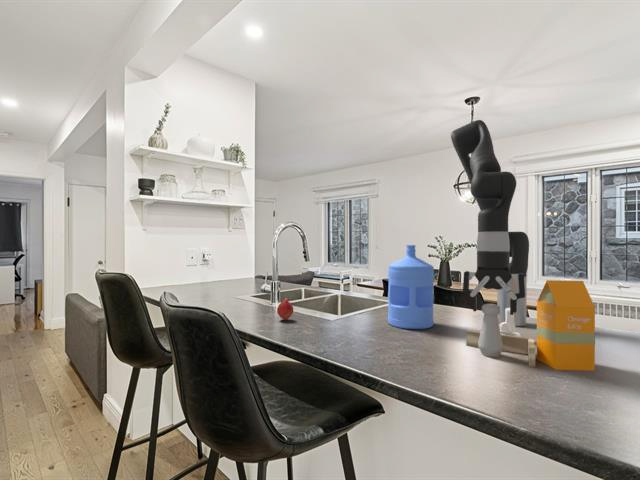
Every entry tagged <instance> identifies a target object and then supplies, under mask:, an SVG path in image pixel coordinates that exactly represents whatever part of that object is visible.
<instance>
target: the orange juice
mask: <svg viewBox="0 0 640 480" xmlns="http://www.w3.org/2000/svg"><path fill="white" fill-rule="evenodd" d="M595 325H596V306H595V304H594V301H593V300H592V297H591V295H590V293H589V292H588V289H587V287H586V285H585V283H584V281H583V280H552V279H551V280H546V281H545V284H544V286H543V288H542V290H541V293H540V294H539V296H538V299H537V300H536V360H538V361H540V363H541V362H542V363H543V364H545V365H546V366H548V367H550V368H552V369H554V370H557V371H559V370H561V371H564V370H565V371H596V370H595V369H596V367H595V366H596V365H595V364H596V363H595V362H596V360H595V359H596V358H595V357H596V353H595V352H596V351H595V350H596V347H595V346H596V326H595Z"/></svg>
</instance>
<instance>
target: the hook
mask: <svg viewBox="0 0 640 480" xmlns="http://www.w3.org/2000/svg"><path fill="white" fill-rule="evenodd" d="M505 317H506V322H502V323H501V324H500V323H499V327H500V332H501V334H502V335H510V336H518V337H524V335H523V334H522V333H520V332H516V331H515V330H516V326H515V324H514V313H513V315H510V308H506V309H505Z"/></svg>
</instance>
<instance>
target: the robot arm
mask: <svg viewBox="0 0 640 480" xmlns="http://www.w3.org/2000/svg"><path fill="white" fill-rule="evenodd" d="M450 140H451V143H452V145H453V149H454V150H455V152H456V155H457V156H458V158H459V161H460V163H461V165H462V168H463V169H464V172H465V173H466V177H467V178H468V182H469V184H470V193H471V195H472V197H473V198H475V201H476V202H477V205H478V208H479V212H478V215H477V238H476V271H475V272H474V271H469V270H466V271H464V272H463V280H462V281H463V283H462V293H463V295H467V296H469V298H470V299H469V301H470V302H469V303H470V305H469V306H470V307H469V308H470V309H471V310H472V311H473V312H477V311H478V310H477V306H478V305H477V304H478V303H477V302H478V298H477V294H479V292H480V291H481V290H482V288H484V289H486V290H496V291H497V295H496V296H497V304H496V305H498V306H499V307H500V314H498V315H497V316H498V322H499V325H500V324H501V323H502V322H506V317H505V309H506V308H510V315H513V313H514V324H515V327H526V326H527V286H528V285H527V284H528V283H527V276H528V275H527V272H528V268H529V256H530V255H529V254H530V239H529V236H528V235H527V233H526V232H524V231H509V215H510V209H511V205H512V202H513V199H514V195H515V192H516V188H517V178H516V176H515V174H513V173H512V172H510V171H502V169H501V167H502V166H501V164H500V162H499V160H498V158H497V157H496V154H495V150H494V149H495V148H494V144H493V141H492V135H491V133H490V130H489V127H488V126H487V124H486V123H485V121H483V120H482V119H477V120H474V121H472V122H469V123H467V124H465V125H462V126H460V127H459V128H456V129H454V130H453V131H452V132H451V133H450ZM470 154H471V155H470ZM510 258H511V260H510ZM473 277H475V278H476V280H477V281H478V282H479V283H478V284H476V287H475V288H474V289H472V290H470V281H471V280H472V279H474V278H473Z"/></svg>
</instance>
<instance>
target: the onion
mask: <svg viewBox="0 0 640 480" xmlns="http://www.w3.org/2000/svg"><path fill="white" fill-rule="evenodd" d="M276 309H277V311H276V312H277V314H278V316H279V317H280V318H281V319H282V320H283V321H287V320H289V318H290V317H291V316H292V315H293V314H294V306H293V305H292V303H291V302H289V301H288V298H284V300H282V301H281V302H280V303H279V304H278V306H277V308H276Z"/></svg>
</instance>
